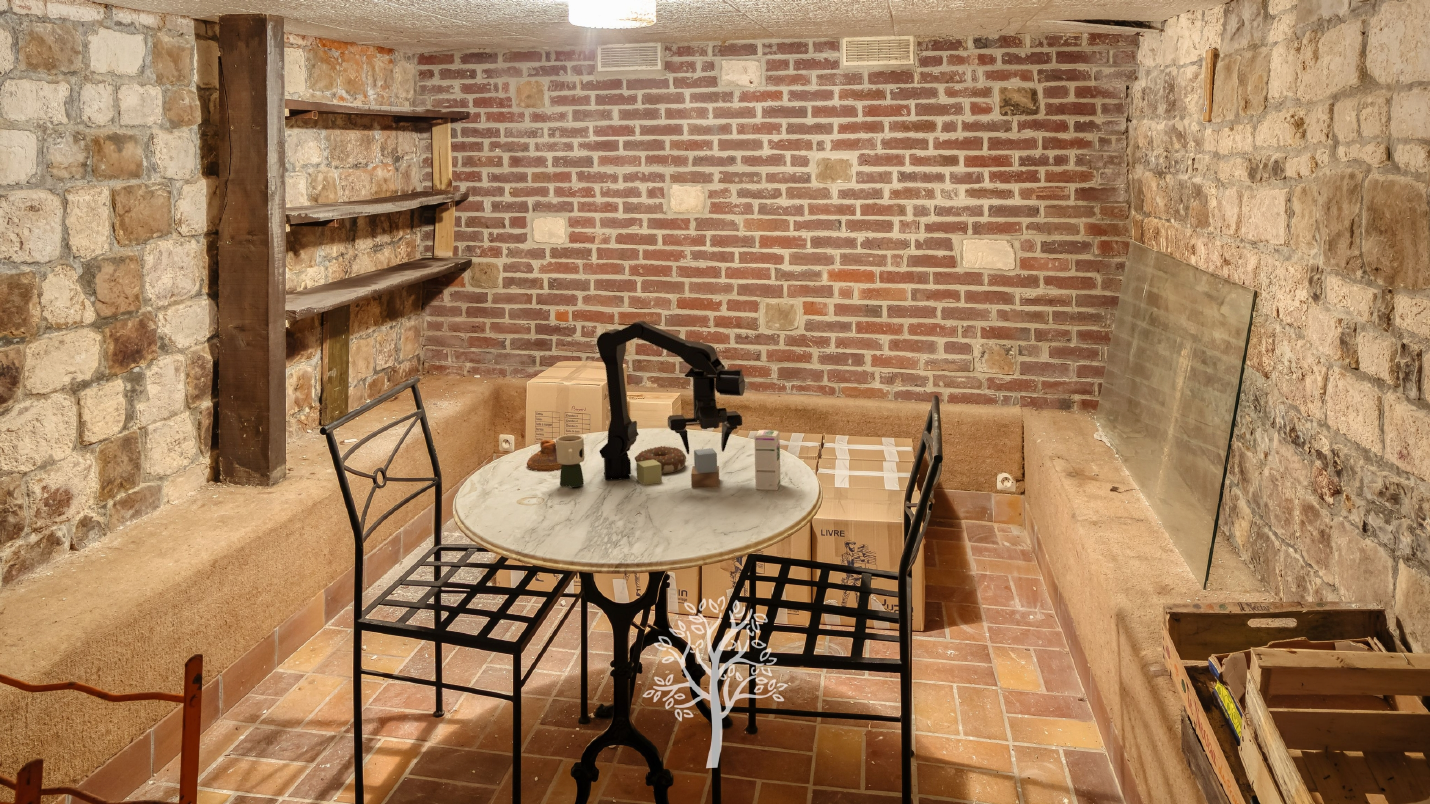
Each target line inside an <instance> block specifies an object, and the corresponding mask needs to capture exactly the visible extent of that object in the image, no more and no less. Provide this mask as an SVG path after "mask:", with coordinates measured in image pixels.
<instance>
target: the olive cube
mask: <svg viewBox="0 0 1430 804" xmlns="http://www.w3.org/2000/svg"><path fill="white" fill-rule="evenodd" d="M635 462H636V461H635ZM635 464H636V480H637V482H639V483H641V484H642V485H645V486H646V485H651V484H652V485H653V484H657V483H662V482H663V478H662V475H663V474H662V472H661V464H660V463H659V462H657V461H655V460H654V459H653V460H647V461H640V462H636V463H635Z"/></svg>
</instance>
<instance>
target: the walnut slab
mask: <svg viewBox="0 0 1430 804" xmlns="http://www.w3.org/2000/svg"><path fill="white" fill-rule="evenodd" d="M690 478H691V479H690V482H691V488H692V489H693V488H695V489H696V488H697V489H699V488H701V489H703V488H705V489H706V488H711V489H712V488H716V489H717V488H718V489H719V486H720V465H717V472H710V473H698V472H697V471H696V470H695V468H694V465H693V466H692V468H691V473H690Z"/></svg>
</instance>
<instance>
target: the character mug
mask: <svg viewBox="0 0 1430 804" xmlns="http://www.w3.org/2000/svg"><path fill="white" fill-rule="evenodd" d="M584 441H585V440H584V436H582V435H579V434H565V435H561V436H557V437H556V439H555V442H556V453H557V462H558V463H560V464H562V466H561V469H560V474H559V475H560V476H559V477H560V478H559V479H560V480H559V485H560V486H561V487H570V488H576V487H581V486H583V485H584V484H585V482H584V476H583V474H584V473H583V469H582V465H581V463H583V462H584V461H585V445H584V444H585V443H584Z"/></svg>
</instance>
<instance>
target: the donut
mask: <svg viewBox="0 0 1430 804" xmlns="http://www.w3.org/2000/svg"><path fill="white" fill-rule="evenodd" d="M653 459H654V460H655V461H657V462H659V463H660V464H661V472H662V475H663V474H670V473H675V472H677V471H680V470H682V469H683V468H684V467H685V466H686V463H687V456H686V454H685V453H684V451H683V450H682V449H680V448H678V447H676V446H674V447H672V446H665V445H664V446H663V445H660V446H655V447H652V448H651V447H650V448H647V449H644V450H641V451H640V452H639V453H637V455H636V456H635V457H634V460H635V462H640V461H647V460H653Z"/></svg>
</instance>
